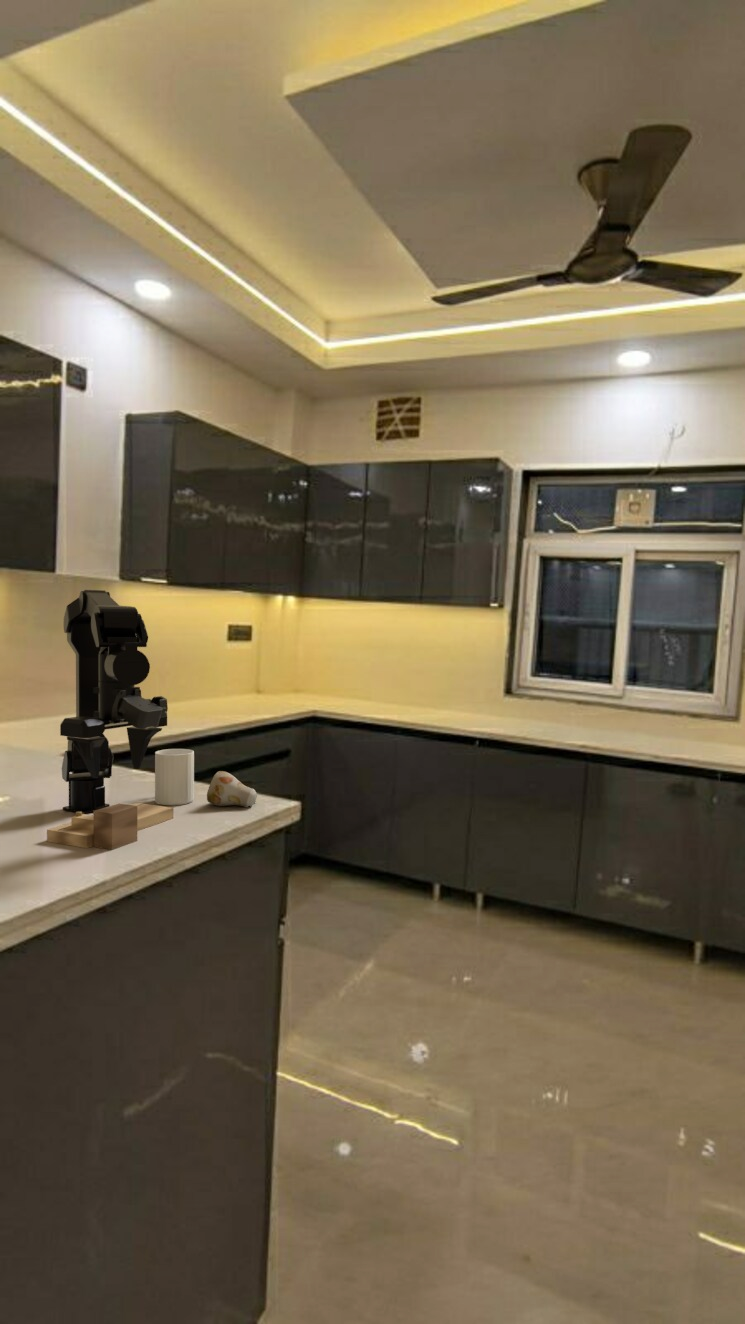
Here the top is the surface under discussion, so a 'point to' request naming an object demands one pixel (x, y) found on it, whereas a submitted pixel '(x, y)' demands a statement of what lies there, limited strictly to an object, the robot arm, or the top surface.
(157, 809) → the board
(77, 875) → the top surface
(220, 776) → the patterned white vase
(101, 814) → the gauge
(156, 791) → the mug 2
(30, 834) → the top surface
